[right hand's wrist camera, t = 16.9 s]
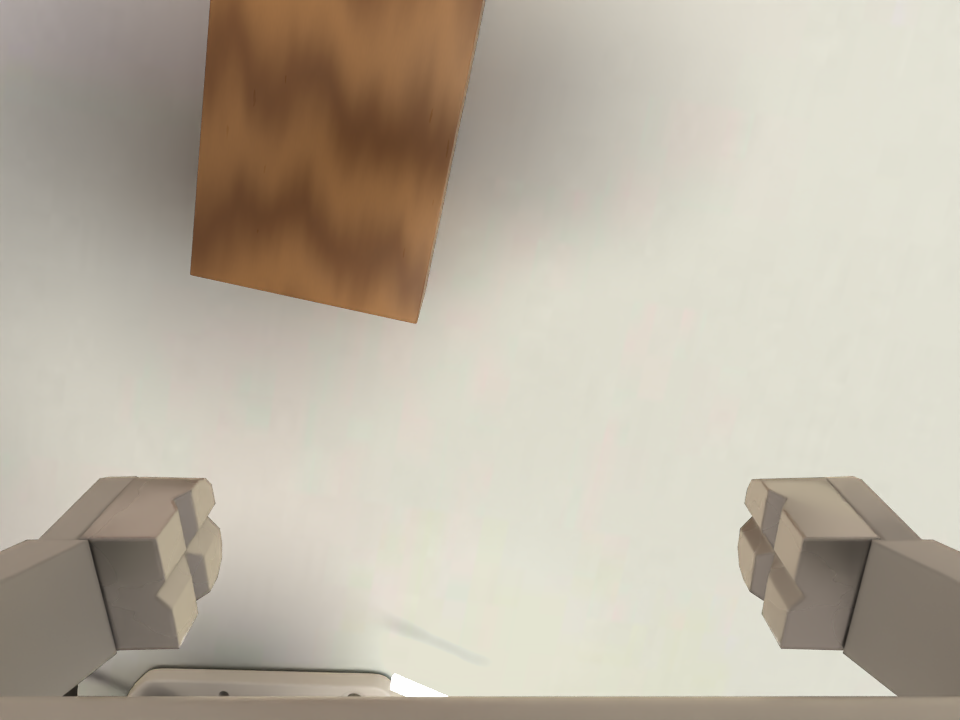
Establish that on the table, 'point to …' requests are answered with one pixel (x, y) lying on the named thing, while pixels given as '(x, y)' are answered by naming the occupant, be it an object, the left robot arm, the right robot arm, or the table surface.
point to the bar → (330, 146)
